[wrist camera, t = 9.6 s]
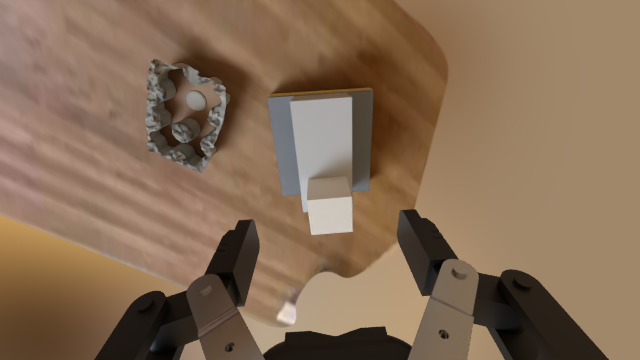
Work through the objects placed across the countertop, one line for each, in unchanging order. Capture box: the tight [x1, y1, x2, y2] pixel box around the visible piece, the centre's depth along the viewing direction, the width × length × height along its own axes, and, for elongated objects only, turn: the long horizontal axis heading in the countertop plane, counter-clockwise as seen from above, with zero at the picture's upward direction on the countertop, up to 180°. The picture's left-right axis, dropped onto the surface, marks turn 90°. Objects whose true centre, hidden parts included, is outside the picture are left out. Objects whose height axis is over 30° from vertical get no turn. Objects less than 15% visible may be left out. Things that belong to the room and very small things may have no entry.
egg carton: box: [145, 59, 230, 173], centre depth 27 cm, size 11×8×4 cm
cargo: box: [307, 176, 353, 235], centre depth 24 cm, size 4×4×4 cm
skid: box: [290, 93, 352, 212], centre depth 26 cm, size 12×6×4 cm, turn 4°
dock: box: [267, 87, 374, 196], centre depth 29 cm, size 12×11×2 cm
